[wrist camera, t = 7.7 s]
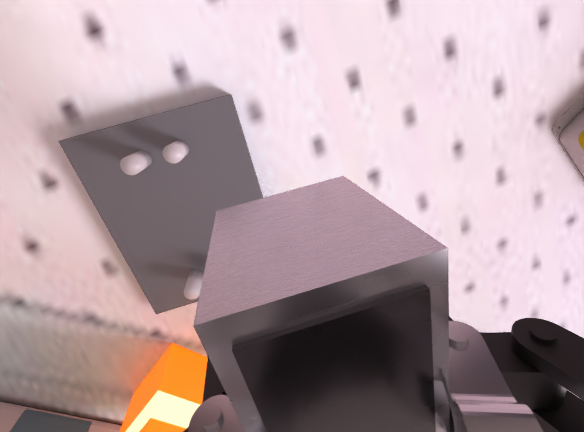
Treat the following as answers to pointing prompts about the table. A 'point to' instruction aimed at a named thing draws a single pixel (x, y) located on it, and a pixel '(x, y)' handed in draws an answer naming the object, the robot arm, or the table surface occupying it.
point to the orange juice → (168, 393)
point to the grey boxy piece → (326, 314)
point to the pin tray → (167, 190)
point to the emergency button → (572, 134)
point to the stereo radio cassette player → (47, 421)
